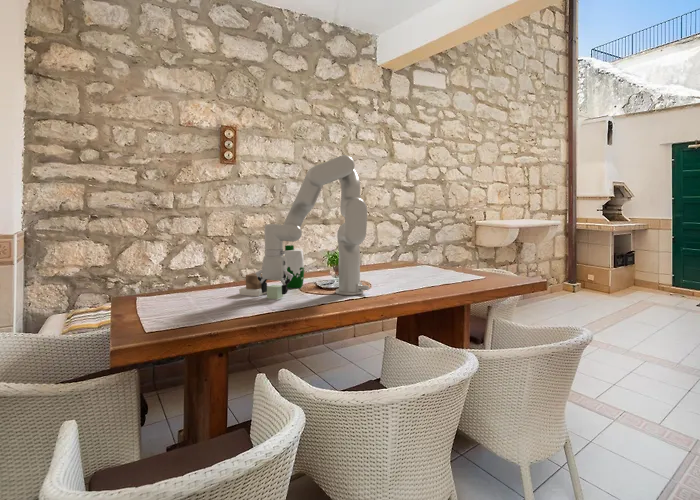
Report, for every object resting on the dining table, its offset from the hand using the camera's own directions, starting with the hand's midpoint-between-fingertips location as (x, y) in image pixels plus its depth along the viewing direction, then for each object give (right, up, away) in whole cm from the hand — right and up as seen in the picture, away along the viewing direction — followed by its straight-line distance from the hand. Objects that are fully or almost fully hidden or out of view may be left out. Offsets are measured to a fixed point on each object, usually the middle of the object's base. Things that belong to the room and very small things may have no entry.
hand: (274, 293), depth 174 cm
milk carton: (+6, 0, +24) cm, 24 cm away
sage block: (0, -2, 0) cm, 2 cm away
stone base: (-10, -1, +9) cm, 14 cm away
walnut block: (-10, +1, +9) cm, 14 cm away
